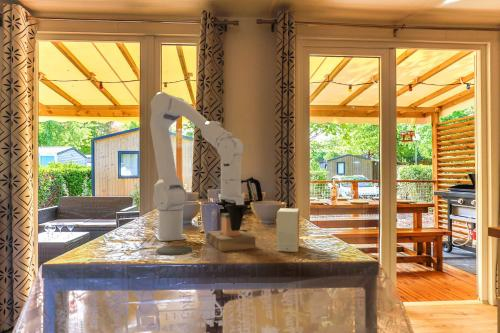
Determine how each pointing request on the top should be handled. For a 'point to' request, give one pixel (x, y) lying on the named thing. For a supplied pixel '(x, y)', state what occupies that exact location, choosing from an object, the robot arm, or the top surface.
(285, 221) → the small box
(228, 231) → the plug
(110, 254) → the top surface
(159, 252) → the coaster
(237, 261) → the top surface
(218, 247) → the tan square socket
